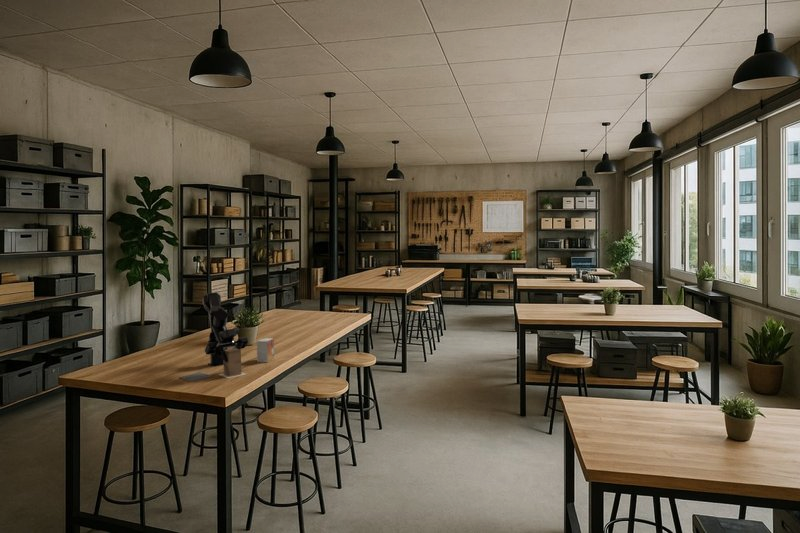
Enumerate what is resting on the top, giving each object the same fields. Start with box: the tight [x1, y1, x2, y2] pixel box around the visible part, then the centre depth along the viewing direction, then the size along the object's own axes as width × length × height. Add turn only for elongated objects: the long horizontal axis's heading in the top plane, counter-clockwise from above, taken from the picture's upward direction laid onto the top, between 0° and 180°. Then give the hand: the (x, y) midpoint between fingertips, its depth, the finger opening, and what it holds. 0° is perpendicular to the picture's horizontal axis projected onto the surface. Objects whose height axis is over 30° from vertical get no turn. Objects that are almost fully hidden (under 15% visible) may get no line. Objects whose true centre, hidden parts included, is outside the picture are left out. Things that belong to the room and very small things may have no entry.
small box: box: [256, 337, 275, 363], centre depth 257 cm, size 8×6×10 cm
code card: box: [218, 371, 247, 379], centre depth 232 cm, size 9×9×1 cm
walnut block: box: [223, 347, 243, 377], centre depth 231 cm, size 6×6×11 cm
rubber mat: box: [178, 372, 214, 383], centre depth 227 cm, size 10×10×1 cm
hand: (233, 360), depth 230 cm, fingers closed on walnut block, 6 cm apart
